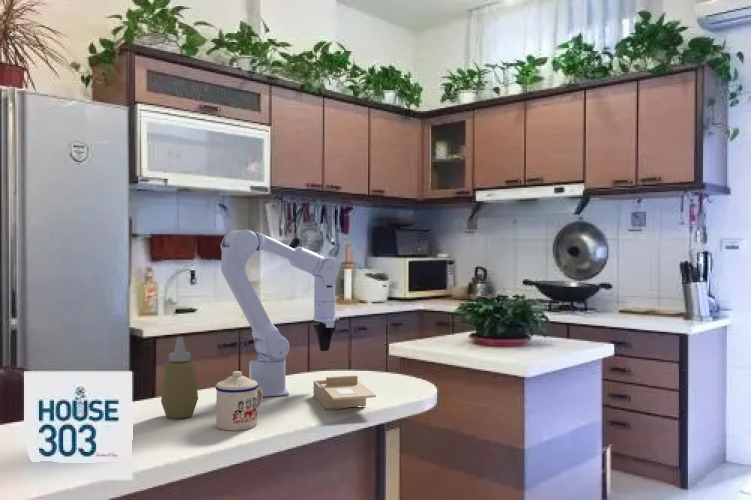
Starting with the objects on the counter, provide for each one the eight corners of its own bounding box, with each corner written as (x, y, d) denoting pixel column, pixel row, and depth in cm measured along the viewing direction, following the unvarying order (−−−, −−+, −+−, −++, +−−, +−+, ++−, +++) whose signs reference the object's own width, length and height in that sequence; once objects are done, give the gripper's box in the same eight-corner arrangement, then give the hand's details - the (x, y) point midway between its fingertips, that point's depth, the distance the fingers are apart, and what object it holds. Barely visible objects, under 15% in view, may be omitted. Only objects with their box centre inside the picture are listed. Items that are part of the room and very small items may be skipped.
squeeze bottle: (160, 413, 146) (160, 335, 146) (196, 410, 149) (196, 333, 149) (161, 422, 139) (161, 340, 139) (199, 419, 142) (199, 338, 141)
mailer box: (313, 396, 163) (313, 380, 163) (350, 393, 166) (351, 378, 166) (325, 410, 150) (325, 393, 150) (365, 407, 153) (365, 390, 153)
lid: (320, 386, 156) (320, 376, 156) (359, 383, 159) (359, 374, 158) (333, 400, 142) (333, 389, 142) (375, 397, 145) (375, 386, 145)
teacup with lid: (235, 434, 131) (235, 378, 131) (206, 426, 136) (206, 372, 136) (276, 421, 141) (276, 368, 140) (247, 414, 146) (247, 364, 146)
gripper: (345, 303, 168) (344, 354, 168) (332, 298, 182) (332, 345, 182) (319, 304, 166) (318, 355, 166) (308, 299, 180) (308, 346, 180)
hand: (324, 350), depth 174 cm, fingers closed
